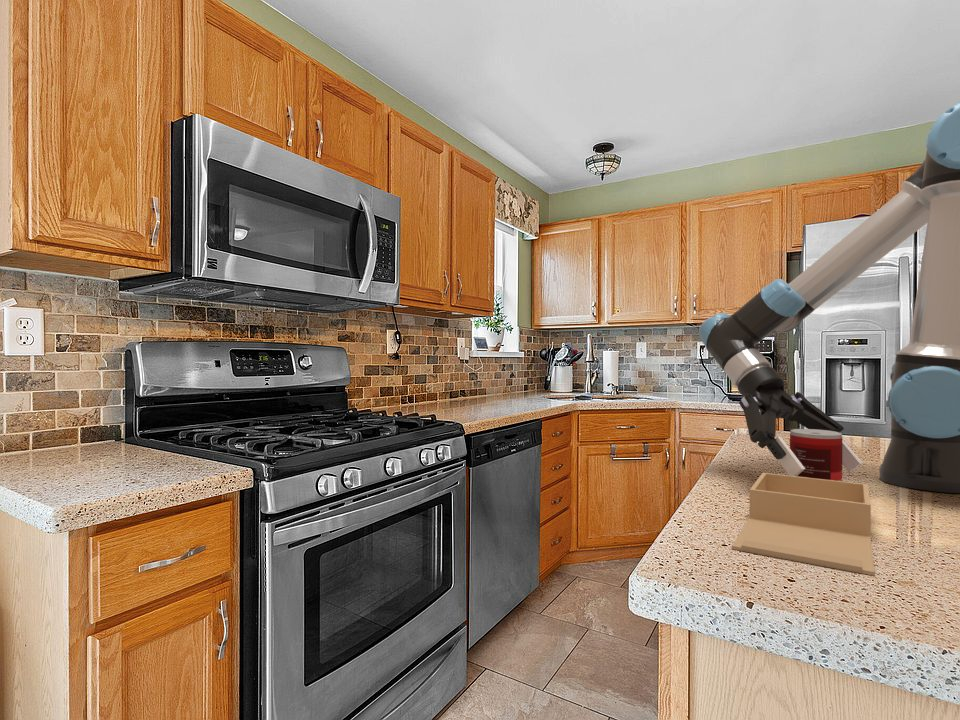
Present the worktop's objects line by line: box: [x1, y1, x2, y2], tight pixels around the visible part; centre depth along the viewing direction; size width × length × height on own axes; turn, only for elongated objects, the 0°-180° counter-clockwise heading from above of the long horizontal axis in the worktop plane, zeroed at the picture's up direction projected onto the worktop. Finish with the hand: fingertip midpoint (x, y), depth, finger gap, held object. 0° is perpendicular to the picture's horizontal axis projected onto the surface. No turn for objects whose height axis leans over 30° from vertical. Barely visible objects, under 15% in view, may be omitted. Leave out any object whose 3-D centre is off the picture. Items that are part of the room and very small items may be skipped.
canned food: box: [789, 428, 843, 481], centre depth 93 cm, size 8×8×11 cm
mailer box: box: [731, 472, 876, 577], centre depth 74 cm, size 28×14×4 cm, turn 146°
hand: (828, 471), depth 91 cm, fingers open, 13 cm apart
